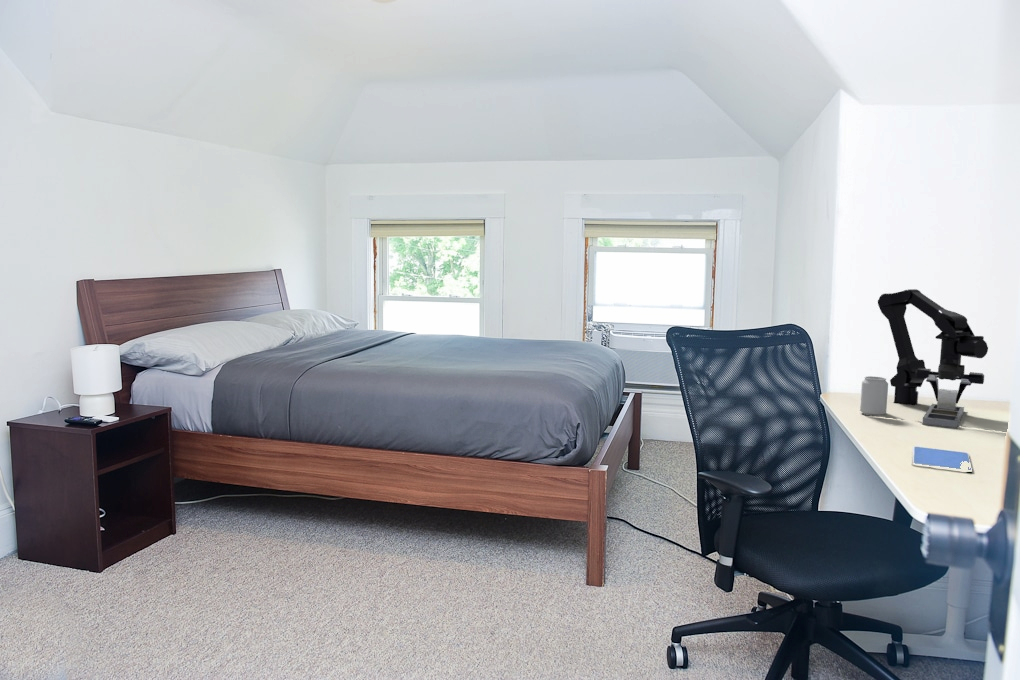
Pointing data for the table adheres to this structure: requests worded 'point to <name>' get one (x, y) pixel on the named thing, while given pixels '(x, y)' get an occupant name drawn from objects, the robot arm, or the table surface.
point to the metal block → (947, 399)
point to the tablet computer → (939, 457)
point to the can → (874, 396)
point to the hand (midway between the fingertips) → (947, 402)
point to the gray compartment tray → (943, 417)
